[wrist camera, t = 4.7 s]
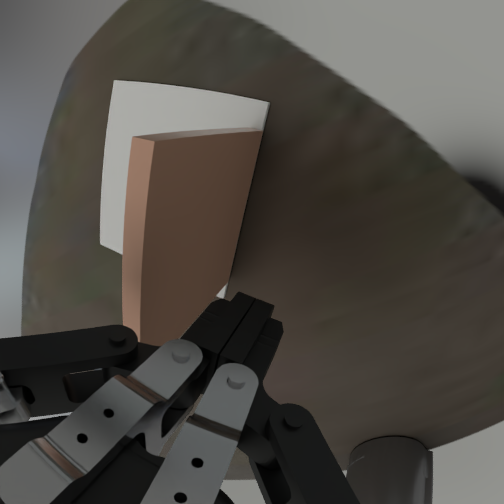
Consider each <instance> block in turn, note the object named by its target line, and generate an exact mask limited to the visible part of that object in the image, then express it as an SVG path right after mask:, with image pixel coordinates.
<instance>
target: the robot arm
mask: <svg viewBox="0 0 504 504" xmlns="http://www.w3.org/2000/svg"><path fill="white" fill-rule="evenodd" d="M273 309H274V305H272V304H269V303H267V302H264V301H262V300H259V299H256V298H254V297H251V296H249V295H246V294H244V293H241V292H238V293H237V294H236V295H235V296H234V298H233V299H232V300H231V302H230V301H227V300H225V299H223V298H221V299H219V300H216V301H214V302H212V303H211V304H210V305H209V306H208V307H207V308H206V310H205V311H204V312H203V313H202V314H201V315H200V317H199V318H198V319H197V320H196V321H195V322H194V323H193V324H192V326H191V327H190V328H189V329H188V330H187V331H186V333H185V334H184V335H183V336H182V337H181V338H180V339H174V340H170V341H168V342H166V343H164V344H163V345H162V346H154V345H150V344H145V343H141V342H138V337H137V335H136V333H135V332H134V331H133V330H132V329H131V328H129V327H127V326H124V325H109V326H102V327H95V328H88V329H80V330H72V331H65V332H56V333H48V334H39V335H30V336H21V337H12V338H1V339H0V504H234V503H233V501H232V500H231V499H230V498H229V497H228V496H227V495H226V494H225V493H224V492H223V491H222V490H221V489H220V487H221V484H222V482H223V479H224V477H225V474H226V472H227V469H228V467H229V464H230V462H231V459H232V457H233V454H234V452H235V449H236V447H238V448H239V449H240V450H241V451H242V452H244V453H245V454H246V455H248V456H249V462H250V465H251V468H252V470H253V473H254V475H255V478H256V481H257V483H258V486H259V488H260V490H261V493H262V495H263V498H264V500H265V503H266V504H432V493H433V452H432V451H428V450H426V449H425V447H424V446H423V445H422V444H421V443H420V442H418V441H416V440H414V439H410V438H406V437H384V438H378V439H374V440H371V441H368V442H365V443H363V444H361V445H359V446H358V447H357V448H355V449H354V450H353V452H352V453H351V456H350V460H349V465H348V468H347V475H346V477H345V475H344V474H343V472H342V470H341V468H340V466H339V464H338V463H337V461H336V459H335V457H334V455H333V453H332V452H331V450H330V448H329V446H328V444H327V442H326V440H325V439H324V437H323V435H322V433H321V431H320V429H319V427H318V426H317V424H316V422H315V420H314V418H313V416H312V415H311V414H310V412H309V411H307V410H306V409H305V408H303V407H301V406H299V405H296V404H289V403H287V404H282V405H280V404H278V403H277V402H276V401H274V400H273V399H272V398H270V397H269V396H268V394H267V393H266V392H265V390H264V387H263V380H264V377H265V375H266V373H267V371H268V369H269V366H270V364H271V362H272V360H273V357H274V355H275V352H276V350H277V347H278V345H279V342H280V340H281V337H282V335H283V326H282V322H280V321H278V320H275V319H272V318H271V315H272V312H273ZM101 368H102V369H101ZM95 369H100V370H95ZM88 370H94V371H88ZM82 371H88V372H82ZM75 372H81V373H75ZM69 373H75V374H69ZM200 394H204V395H203V397H202V399H201V401H200V403H199V405H198V406H197V408H196V410H195V412H194V414H193V415H192V416H189V417H188V419H187V420H186V422H185V423H184V425H183V427H182V429H181V431H180V433H179V435H178V436H177V438H176V440H175V442H174V444H173V446H172V447H171V449H170V451H169V453H168V455H167V457H166V458H163V457H160V456H159V454H160V452H161V450H162V447H163V445H164V444H165V442H166V441H167V440H168V438H169V437H170V436H171V435H172V434H173V432H174V431H175V430H176V429H177V428H178V426H179V425H180V424H181V423H182V421H183V420H184V419H185V418H186V416H187V415H188V414H189V413H190V411H191V410H192V409H193V407H194V403H195V402H196V400H197V399H198V397H199V396H200ZM68 412H72V413H71V414H70V415H68V416H58V417H52V418H46V419H40V420H33V421H28V420H29V419H30V417H38V416H46V415H53V414H61V413H68Z"/></svg>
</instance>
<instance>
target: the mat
mask: <svg viewBox="0 0 504 504" xmlns="http://www.w3.org/2000/svg"><path fill="white" fill-rule="evenodd" d="M269 106H270V103H269V102H265V101H261V100H256V99H251V98H246V97H242V96H236V95H231V94H226V93H220V92H214V91H208V90H202V89H195V88H188V87H181V86H173V85H165V84H156V83H145V82H133V81H118V80H114V85H113V91H112V97H111V103H110V110H109V117H108V125H107V133H106V141H105V151H104V162H103V175H102V190H101V214H100V244H101V245H103V246H105V247H107V248H110V249H112V250H114V251H116V252H118V253H120V254H122V255H123V232H124V214H125V200H126V188H127V177H128V167H129V158H130V150H131V142H132V137H133V136H141V135H149V134H158V133H168V132H178V131H190V130H204V129H221V128H245V127H250V128H254V129H258V130H262V131H263V130H264V126H265V122H266V118H267V114H268V110H269ZM261 139H262V138H261ZM260 143H261V142H260ZM259 147H260V146H259ZM256 160H257V159H256ZM255 164H256V163H255ZM251 181H252V180H251ZM250 185H251V184H250ZM248 194H249V193H248ZM247 198H248V197H247ZM244 211H245V210H244ZM241 224H242V223H241ZM239 233H240V232H239ZM238 237H239V236H238ZM236 246H237V245H236ZM234 255H235V254H234ZM232 264H233V263H232ZM227 286H228V283H227V284H226V285H225V286H224V287H223V288H222V290H221V291H220V292H219V293H218V294H217V295H216V296H218V297H220V298H223V299H224V297H225V295H226V290H227Z"/></svg>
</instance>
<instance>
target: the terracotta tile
mask: <svg viewBox="0 0 504 504" xmlns="http://www.w3.org/2000/svg"><path fill="white" fill-rule="evenodd" d="M262 134H263V131H262V130H258V129H254V128H250V127H245V128H221V129H204V130H190V131H178V132H168V133H158V134H149V135H141V136H133V137H132V142H131V150H130V158H129V167H128V177H127V188H126V200H125V214H124V232H123V262H122V304H123V325H124V326H127V327H129V328H131V329H132V330H133V331H134V332H135V333H136V335H137V337H138V342H141V343H145V344H150V345H154V346H162V345H163V344H164V343H166V342H168V341H170V340H174V339H178V338H179V337H180V336H181V335H182V334H183V333H184V332H185V330H186V329H187V328H188V327H189V326H190V325H191V324H192V322H193V321H194V320H195V319H196V318H197V317H198V316H199V315H200V313H201V312H202V311H203V310H204V309H205V308H206V307H207V305H208V304H209V303H210V302H211V301H212V300H213V299H214V298H215V296H216V295H217V294H218V293H219V292H220V291H221V290H222V288H223V287H224V286H225V285H226V284H227V283H228V281H229V277H230V272H231V268H232V263H233V259H234V254H235V250H236V245H237V241H238V236H239V232H240V228H241V223H242V219H243V215H244V210H245V206H246V202H247V197H248V193H249V189H250V184H251V180H252V176H253V172H254V168H255V163H256V159H257V155H258V151H259V146H260V142H261V138H262Z"/></svg>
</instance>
